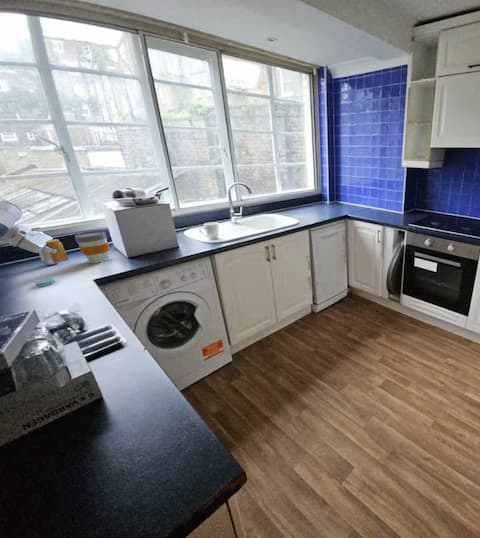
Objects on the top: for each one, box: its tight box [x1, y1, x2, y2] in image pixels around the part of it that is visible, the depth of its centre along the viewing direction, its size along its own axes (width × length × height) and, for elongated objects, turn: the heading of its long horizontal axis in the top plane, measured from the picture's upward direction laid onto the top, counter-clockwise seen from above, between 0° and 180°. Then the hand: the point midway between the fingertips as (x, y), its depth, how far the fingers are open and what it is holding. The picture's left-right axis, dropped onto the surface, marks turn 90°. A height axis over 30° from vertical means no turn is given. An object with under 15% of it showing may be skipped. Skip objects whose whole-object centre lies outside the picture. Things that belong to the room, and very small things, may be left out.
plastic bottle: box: [30, 226, 57, 266], centre depth 154 cm, size 6×7×20 cm
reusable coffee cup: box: [74, 230, 111, 264], centre depth 159 cm, size 12×13×15 cm
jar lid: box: [34, 277, 56, 288], centre depth 134 cm, size 6×6×2 cm
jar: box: [45, 238, 70, 264], centre depth 146 cm, size 6×6×10 cm
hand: (58, 250), depth 146 cm, fingers closed on jar, 6 cm apart
